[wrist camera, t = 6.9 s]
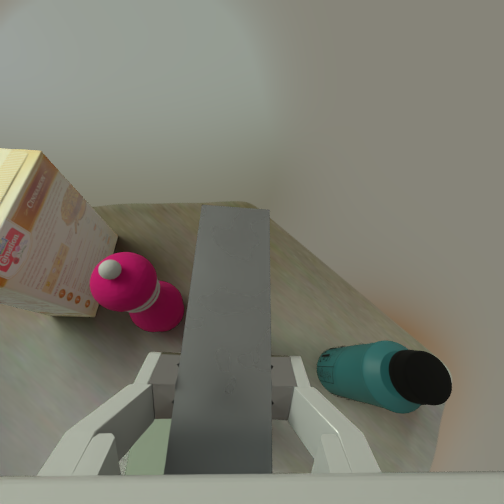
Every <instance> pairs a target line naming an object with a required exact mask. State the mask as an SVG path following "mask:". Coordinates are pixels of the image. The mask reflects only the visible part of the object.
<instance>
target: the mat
mask: <svg viewBox="0 0 504 504" xmlns="http://www.w3.org/2000/svg"><path fill="white" fill-rule="evenodd" d="M170 426H171V419H154V422H153V423H152V424H151V425H150V426H149V427H148V429H147V430H146V431H145V432H144V433H143V434H142V435H141V437H140V438H139V439H138V440H137V441H136V442H135V444H134V445H133V446H132V447H131V448H130V451H129V456H128V461H127V467H126V472H125V475H164V468H165V461H166V454H167V447H168V440H169V433H170Z"/></svg>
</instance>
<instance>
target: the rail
mask: <svg viewBox="0 0 504 504" xmlns="http://www.w3.org/2000/svg"><path fill="white" fill-rule="evenodd" d="M186 474H272V403H271V309H270V215H269V210H264V209H251V208H237V207H224V206H210V205H202V208H201V215H200V222H199V229H198V236H197V244H196V251H195V258H194V265H193V272H192V279H191V286H190V293H189V300H188V307H187V314H186V321H185V328H184V335H183V342H182V349H181V356H180V363H179V370H178V379H177V386H176V392H175V398H174V405H173V412H172V419H171V426H170V433H169V440H168V447H167V454H166V461H165V468H164V475H186Z"/></svg>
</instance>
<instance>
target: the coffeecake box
mask: <svg viewBox="0 0 504 504" xmlns="http://www.w3.org/2000/svg"><path fill="white" fill-rule="evenodd" d="M117 239H118V235H117V234H116V233H115V232H114V231H113V230H112V229H111V228H110V227H109V225H108V224H107V223H106V222H105V221H104V220H103V219H102V218H101V217H100V216H99V214H98V213H97V212H96V211H95V210H94V209H93V208H92V207H91V206H90V205H89V204H88V202H87V201H86V200H85V199H84V198H83V197H82V196H81V195H80V194H79V192H78V191H77V190H76V189H75V188H74V187H73V186H72V185H71V184H70V183H69V181H68V180H67V179H65V177H64V176H63V175H62V174H61V173H60V172H59V170H58V169H57V168H56V167H55V166H54V165H53V164H52V163H51V162H50V161H49V159H47V157H46V156H45V155H44V154H43V153H42V151H36V150H35V151H34V150H23V149H18V150H17V149H1V148H0V304H4V305H9V306H13V307H16V308H21V309H25V310H29V311H33V312H37V313H41V314H45V315H50V316H72V317H95V316H96V313H97V309H98V306H99V303H98V302H97V301H96V300H95V299H94V297H93V296H92V293H91V290H90V278H91V274H92V272H93V270H94V268H95V267H96V265H97V264H99V263H100V262H101V261H102V260H103V259H105V258H106V257H108V256H110V255H112V254H113V253H114V249H115V246H116V242H117Z"/></svg>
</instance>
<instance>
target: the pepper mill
mask: <svg viewBox="0 0 504 504" xmlns="http://www.w3.org/2000/svg"><path fill="white" fill-rule="evenodd" d="M90 290H91V293H92V296H93V297H94V299H95V300H96V301H97V302H98V303H99V304H100V305H102V306H103V307H104V308H107V309H109V310H113V311H119V312H123V311H126V312H129V314H130V317H131V319H132V321H133V322H134V323H135V324H136V325H137V326H138V327H140V328H141V329H143V330H145V331H149V332H158V331H160V332H163V331H168V330H171V329H172V328H174V327H175V326H177V325H178V324H179V322H180V321H181V319H182V317H183V314H184V305H183V300H182V296H181V294H180V292H179V291H178V289H177V288H175V287H174V286H173V285H172V284H170V283H168V282H164V281H158V278H157V275H156V271H155V269H154V267H153V265H152V264H151V263H150V262H149V261H148V260H147V259H146V258H144V257H143V256H141V255H139V254H136V253H131V252H120V253H115V254H112V255H110V256H108V257H106V258H105V259H103V260H102V261H101V262H100V263H99V264H97V265H96V267H95V268H94V270H93V272H92V274H91V278H90Z"/></svg>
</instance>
